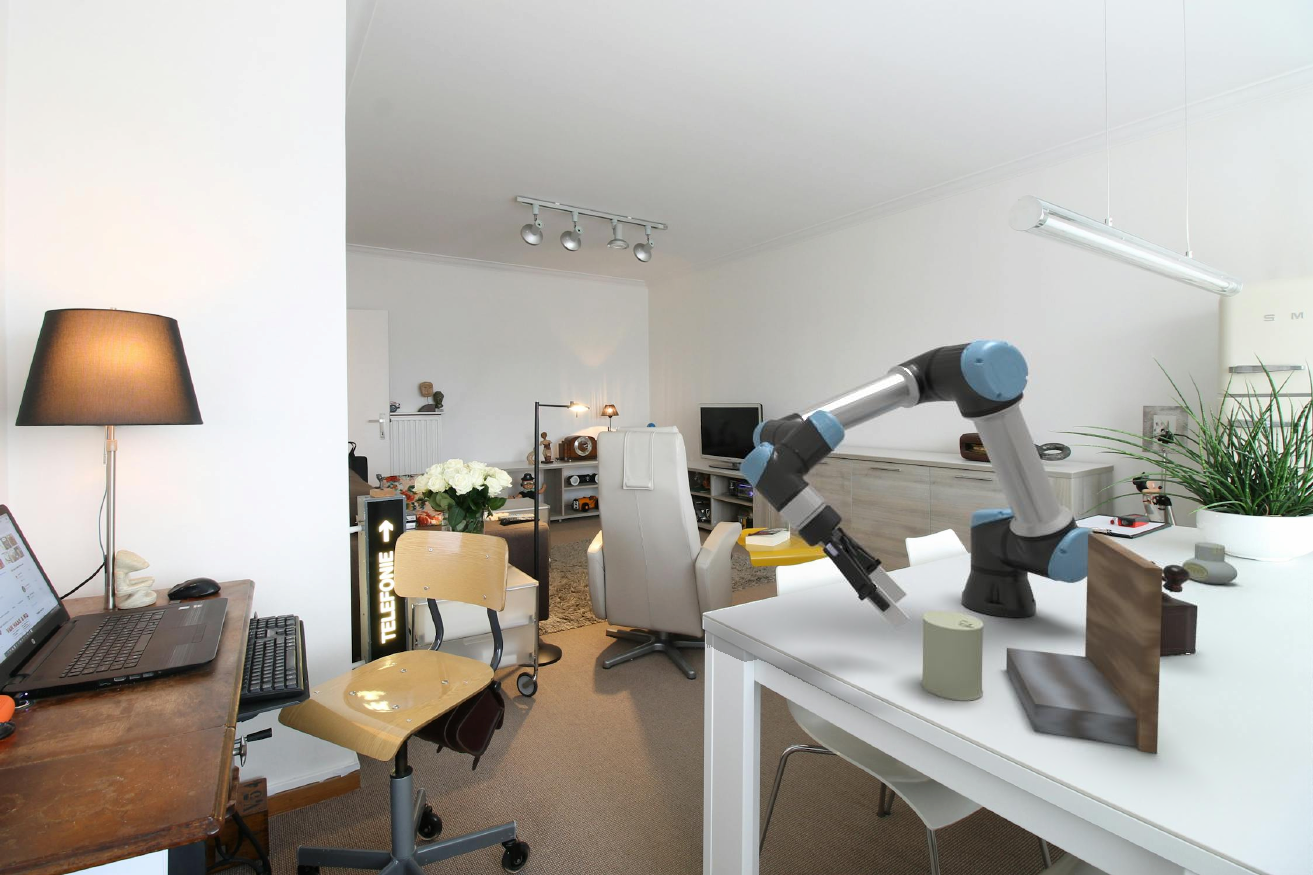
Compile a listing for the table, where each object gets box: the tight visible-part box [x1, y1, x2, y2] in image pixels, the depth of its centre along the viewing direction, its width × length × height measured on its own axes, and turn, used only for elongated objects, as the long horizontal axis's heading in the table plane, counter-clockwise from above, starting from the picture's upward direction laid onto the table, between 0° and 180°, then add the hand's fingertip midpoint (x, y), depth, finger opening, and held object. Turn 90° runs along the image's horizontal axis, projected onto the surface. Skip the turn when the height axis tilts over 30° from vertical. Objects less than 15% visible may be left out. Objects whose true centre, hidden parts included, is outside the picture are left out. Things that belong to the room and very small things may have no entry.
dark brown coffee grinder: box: [1149, 560, 1199, 657], centre depth 116 cm, size 16×11×18 cm
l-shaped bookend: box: [1006, 533, 1164, 754], centre depth 95 cm, size 14×24×25 cm, turn 159°
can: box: [921, 610, 985, 702], centre depth 101 cm, size 9×9×12 cm
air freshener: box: [1181, 541, 1238, 585], centre depth 162 cm, size 11×8×10 cm
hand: (902, 610), depth 103 cm, fingers open, 13 cm apart
